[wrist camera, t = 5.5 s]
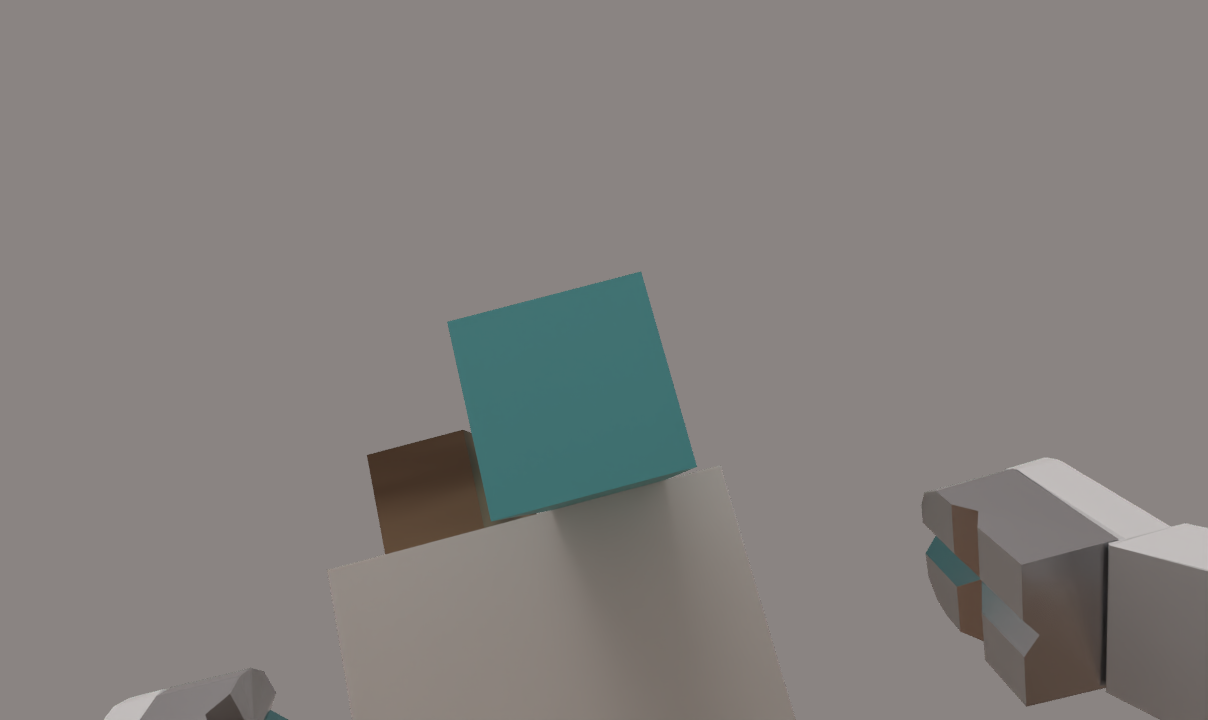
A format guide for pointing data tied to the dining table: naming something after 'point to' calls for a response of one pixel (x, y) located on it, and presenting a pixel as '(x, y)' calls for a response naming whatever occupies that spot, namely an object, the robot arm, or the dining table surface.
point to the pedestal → (567, 617)
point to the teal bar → (569, 398)
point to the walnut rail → (429, 491)
